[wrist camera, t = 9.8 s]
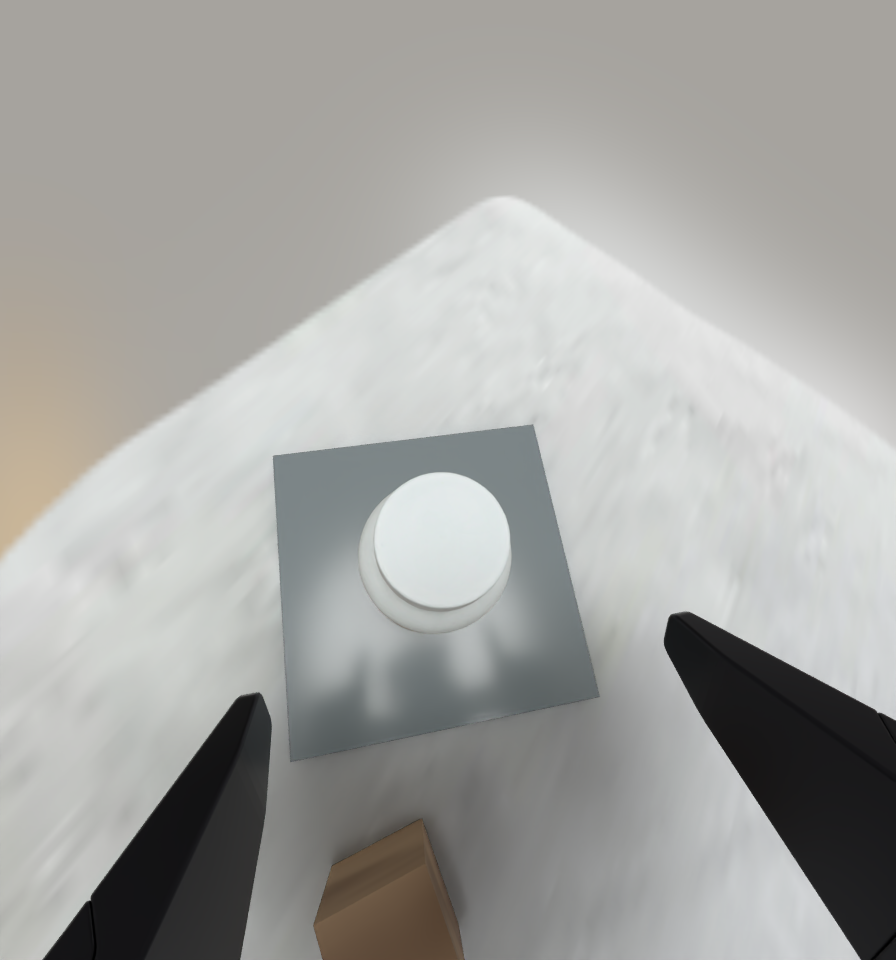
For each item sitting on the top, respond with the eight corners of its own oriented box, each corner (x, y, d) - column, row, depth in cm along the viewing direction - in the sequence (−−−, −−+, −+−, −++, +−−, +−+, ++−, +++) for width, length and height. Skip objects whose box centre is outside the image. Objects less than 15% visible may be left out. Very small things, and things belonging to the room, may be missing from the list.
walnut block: (457, 922, 18) (471, 998, 15) (365, 977, 18) (353, 1072, 14) (421, 817, 19) (425, 863, 16) (332, 864, 19) (313, 925, 15)
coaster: (594, 694, 22) (599, 696, 21) (293, 757, 20) (290, 761, 19) (530, 429, 26) (533, 424, 25) (276, 459, 24) (272, 455, 23)
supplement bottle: (370, 634, 21) (342, 640, 12) (372, 521, 23) (347, 450, 13) (485, 629, 21) (543, 630, 12) (478, 519, 23) (524, 448, 14)
